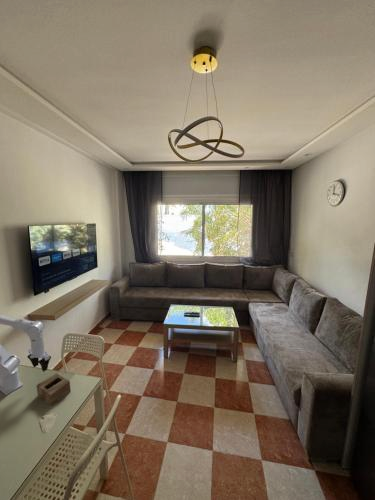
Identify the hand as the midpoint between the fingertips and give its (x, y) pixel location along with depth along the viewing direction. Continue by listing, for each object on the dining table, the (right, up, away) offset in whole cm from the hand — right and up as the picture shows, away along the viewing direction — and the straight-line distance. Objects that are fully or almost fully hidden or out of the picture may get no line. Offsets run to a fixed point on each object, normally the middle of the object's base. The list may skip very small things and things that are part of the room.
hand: (40, 368), depth 120 cm
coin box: (+10, -11, -3) cm, 15 cm away
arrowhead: (+16, -15, -20) cm, 30 cm away
